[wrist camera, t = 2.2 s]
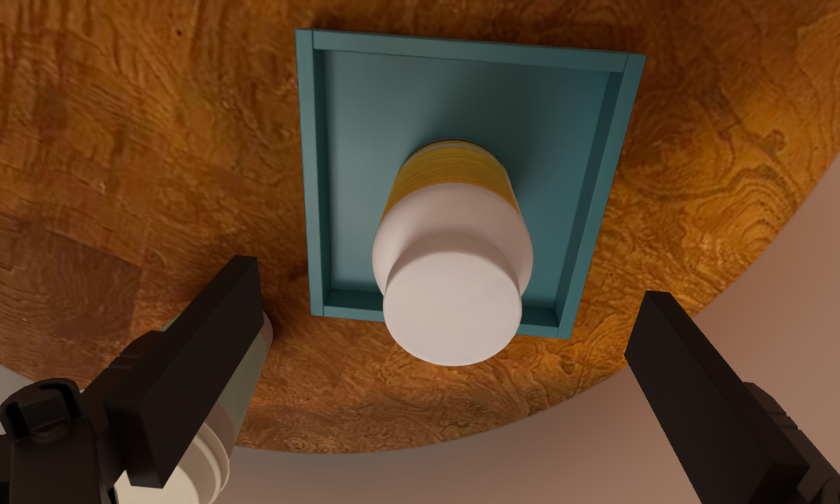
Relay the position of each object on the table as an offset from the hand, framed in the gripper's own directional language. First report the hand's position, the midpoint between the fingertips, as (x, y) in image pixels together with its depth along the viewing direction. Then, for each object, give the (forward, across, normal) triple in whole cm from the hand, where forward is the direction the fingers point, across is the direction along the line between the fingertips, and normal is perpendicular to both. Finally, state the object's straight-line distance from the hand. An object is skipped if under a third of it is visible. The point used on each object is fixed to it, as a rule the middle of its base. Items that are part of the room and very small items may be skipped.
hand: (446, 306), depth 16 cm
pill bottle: (+11, 0, 0) cm, 11 cm away
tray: (+11, 0, 0) cm, 11 cm away
